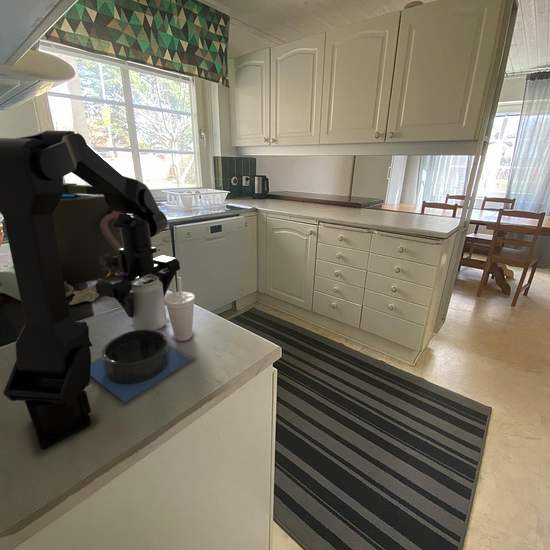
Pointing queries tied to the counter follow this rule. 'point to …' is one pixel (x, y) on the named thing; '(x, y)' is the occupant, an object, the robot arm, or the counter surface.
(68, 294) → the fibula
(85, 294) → the artifact
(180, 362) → the napkin
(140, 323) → the can
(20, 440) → the counter surface
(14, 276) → the boat shoe
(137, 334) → the pan
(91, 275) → the container
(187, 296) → the smoothie
